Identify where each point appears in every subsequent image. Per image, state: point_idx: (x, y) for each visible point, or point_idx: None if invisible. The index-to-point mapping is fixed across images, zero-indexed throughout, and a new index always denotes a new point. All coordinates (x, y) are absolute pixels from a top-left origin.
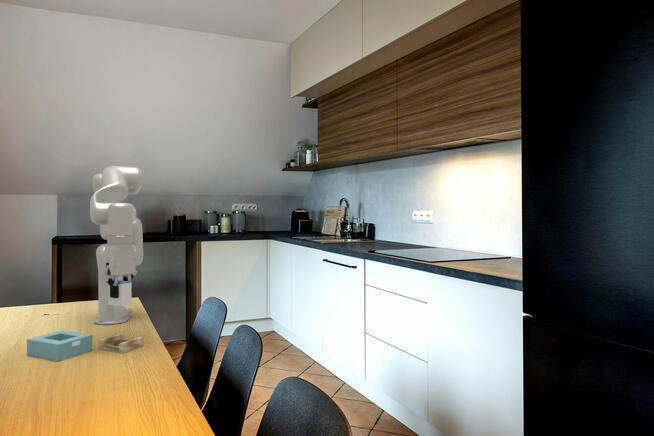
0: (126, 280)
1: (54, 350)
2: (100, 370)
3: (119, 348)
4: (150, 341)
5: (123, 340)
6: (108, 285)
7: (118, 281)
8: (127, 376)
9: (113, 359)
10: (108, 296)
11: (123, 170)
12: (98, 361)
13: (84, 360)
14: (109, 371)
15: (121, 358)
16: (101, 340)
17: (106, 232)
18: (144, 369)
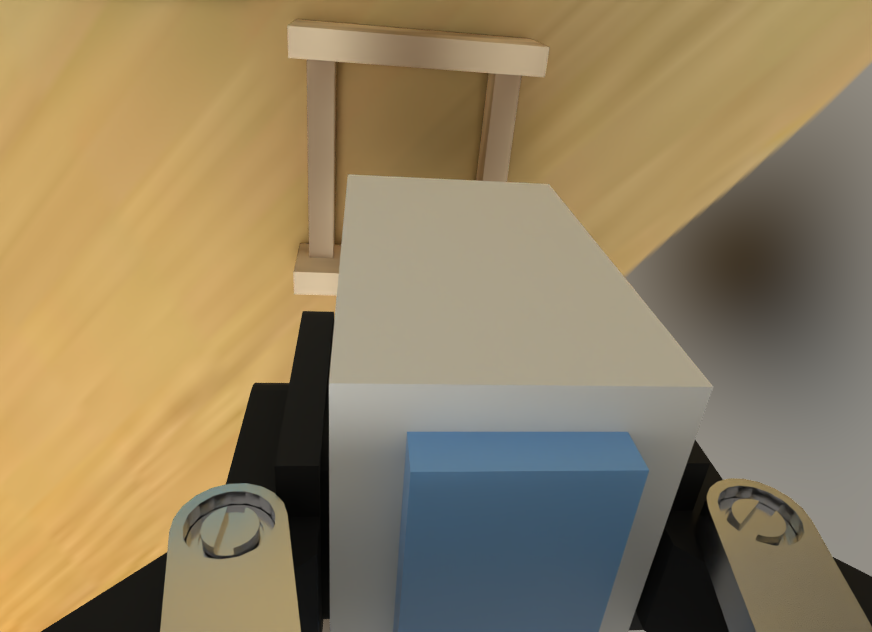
0: (701, 625)
1: None
2: (4, 385)
3: (297, 258)
4: (612, 239)
5: (489, 118)
6: (332, 357)
7: (460, 623)
8: (42, 543)
9: (184, 306)
10: (344, 233)
11: None
12: (100, 252)
13: (51, 144)
14: (28, 434)
15: (225, 334)
16: (296, 57)
17: None
18: (159, 542)
